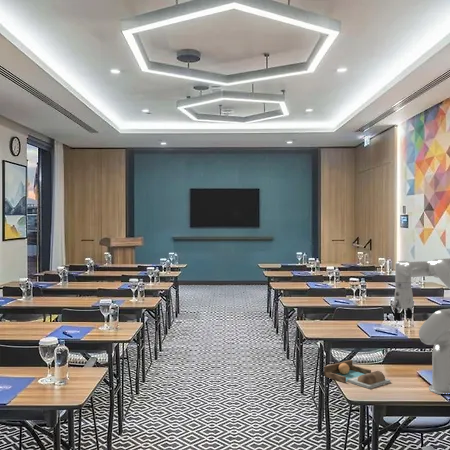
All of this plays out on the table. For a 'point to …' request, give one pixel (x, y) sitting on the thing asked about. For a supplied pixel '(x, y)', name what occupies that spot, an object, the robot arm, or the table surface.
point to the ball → (343, 368)
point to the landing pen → (332, 372)
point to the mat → (351, 374)
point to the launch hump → (371, 377)
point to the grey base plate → (354, 381)
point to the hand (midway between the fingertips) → (403, 319)
